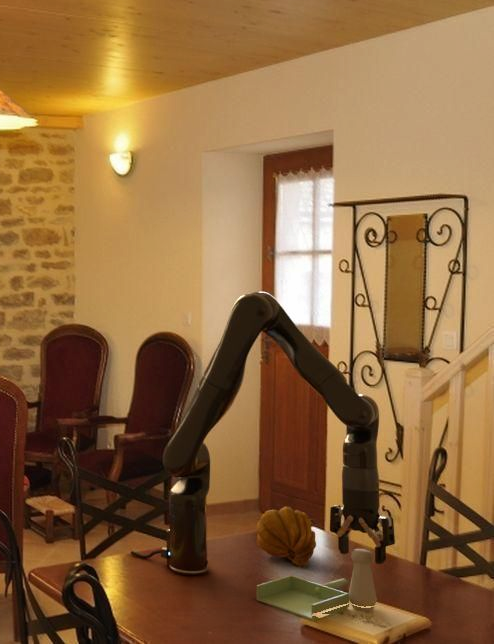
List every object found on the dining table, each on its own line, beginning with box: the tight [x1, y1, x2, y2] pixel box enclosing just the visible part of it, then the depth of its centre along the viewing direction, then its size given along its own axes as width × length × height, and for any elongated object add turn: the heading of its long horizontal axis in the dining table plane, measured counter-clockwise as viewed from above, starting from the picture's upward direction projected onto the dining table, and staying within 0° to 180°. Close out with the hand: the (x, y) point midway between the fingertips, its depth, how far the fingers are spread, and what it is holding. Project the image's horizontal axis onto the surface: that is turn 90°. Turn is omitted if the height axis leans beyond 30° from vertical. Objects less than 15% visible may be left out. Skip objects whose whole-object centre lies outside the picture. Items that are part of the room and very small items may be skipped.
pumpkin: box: [256, 505, 317, 568], centre depth 235 cm, size 14×16×20 cm
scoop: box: [256, 574, 350, 622], centre depth 204 cm, size 22×15×3 cm, turn 122°
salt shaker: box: [348, 548, 378, 613], centre depth 199 cm, size 6×6×13 cm
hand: (361, 558), depth 199 cm, fingers open, 8 cm apart
